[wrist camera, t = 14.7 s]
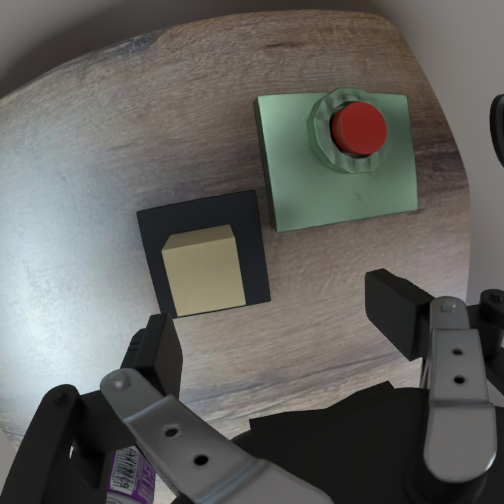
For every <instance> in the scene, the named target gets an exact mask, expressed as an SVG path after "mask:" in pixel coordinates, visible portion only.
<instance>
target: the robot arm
mask: <svg viewBox="0 0 504 504" xmlns="http://www.w3.org/2000/svg"><path fill="white" fill-rule="evenodd" d="M502 127H503V135H504V111H503V117H502ZM365 310H366V314H367V317H368V319H369V320H370V321H371V322H372V323H373V324H374V325H375V326H376V327H377V328H378V329H379V330H380V331H381V332H382V333H383V334H384V335H385V336H386V337H387V338H388V340H389V341H390V342H391V343H392V344H393V345H394V346H395V347H396V348H397V349H398V350H399V351H400V352H401V353H402V354H403V355H404V356H405V357H406V358H407V359H408V360H409V361H413V360H415V359H417V358H420V357H422V358H423V360H422V365H421V374H420V383H419V388H414V387H405V388H396V389H394V387H393V386H392V385H391V383H390V382H389V381H385V382H383V383H380V384H377V385H374V386H372V387H369V388H366V389H363V390H360V391H357V392H356V393H354V394H352V395H350V396H348V397H347V398H345V399H343V400H341V401H339V402H338V403H336V404H334V405H332V406H330V407H328V408H325V409H318V410H306V411H290V412H282V413H278V414H273V415H269V416H264V417H259V418H254V419H249V423H250V428H251V430H249V431H246V432H244V433H242V434H240V435H238V436H236V437H234V438H233V439H231V440H228V439H227V438H226V437H224V436H223V435H222V434H220V433H219V432H218V431H216V430H215V429H214V428H212V427H211V426H210V425H209V424H207V423H206V422H205V421H204V420H202V419H201V418H200V417H199V416H197V415H196V414H195V413H194V412H192V411H191V410H190V409H189V408H188V407H186V406H185V405H184V404H183V403H182V402H180V401H179V391H180V382H181V373H182V364H183V355H182V349H181V345H180V342H179V339H178V336H177V333H176V330H175V326H174V323H173V320H172V317H171V315H170V313H169V312H168V313H162V314H156V315H151V316H150V318H149V321H148V324H147V326H146V328H144V329H140V330H139V331H138V332H137V333H136V334H135V335H134V336H133V337H132V340H131V342H130V345H129V347H128V350H127V352H126V354H125V357H124V359H123V362H122V364H121V367H120V369H118V370H115V371H113V372H111V373H109V374H108V375H106V376H105V377H104V378H103V379H102V381H101V383H100V390H97V391H94V392H90V393H87V394H83V395H80V394H79V392H78V390H77V389H76V387H75V386H73V385H70V384H63V385H59V386H56V387H54V388H52V389H51V390H49V391H48V392H47V393H46V394H45V395H44V397H43V399H42V401H41V403H40V405H39V407H38V409H37V411H36V413H35V415H34V417H33V419H32V421H31V423H30V425H29V427H28V429H27V432H26V434H25V436H24V438H23V440H22V443H21V445H20V447H19V449H18V452H17V454H16V457H15V459H14V461H13V464H12V466H11V469H10V471H9V474H8V476H7V479H6V482H5V485H4V487H3V490H2V493H1V496H0V504H106V499H107V492H108V485H109V478H110V471H111V465H112V459H113V453H114V451H117V450H121V449H124V448H128V447H131V446H135V447H136V449H137V450H138V451H139V453H140V454H141V455H142V456H143V458H144V459H145V460H146V461H147V463H148V464H149V465H150V466H151V467H152V469H153V470H154V471H155V472H156V473H157V475H158V476H159V477H160V478H161V479H162V480H163V482H164V483H165V484H166V485H167V486H168V487H169V489H170V490H171V491H172V492H173V493H174V494H175V495H176V498H175V499H174V501H173V502H172V503H171V504H504V408H503V407H498V406H494V405H493V403H490V402H489V398H488V388H487V380H486V378H487V379H488V380H489V381H490V382H491V383H492V384H493V385H494V386H495V387H496V388H497V389H498V390H499V391H500V392H501V394H502V395H503V396H504V348H503V347H501V344H502V340H503V337H504V291H502V290H498V289H489V290H485V291H483V292H482V293H481V296H480V302H479V304H478V305H471V306H466V304H465V303H464V302H463V301H462V300H461V299H459V298H456V297H451V296H442V297H438V298H435V297H433V296H432V295H430V294H428V293H427V292H425V291H424V290H422V289H420V288H419V287H418V286H416V285H414V284H413V283H411V282H410V281H408V280H407V279H403V278H400V277H397V276H395V275H393V274H392V273H390V272H389V271H387V270H385V269H384V268H382V269H378V270H374V271H370V272H367V273H366V275H365ZM71 446H72V447H73V451H72V455H71V458H70V450H71Z"/></svg>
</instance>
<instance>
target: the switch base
mask: <svg viewBox="0 0 504 504" xmlns="http://www.w3.org/2000/svg"><path fill="white" fill-rule="evenodd" d="M355 102H365V103H368V104H370V105H372V106H374V107H375V108H376V109H377V110H378V111H379V112H380V113H381V114H382V116H383V118H384V120H385V123H386V127H387V136H386V140H385V143H384V144H383V146H382V147H381V148H380V149H379V150H378V151H377V152H375V153H372V154H363V155H354V154H350V153H348V152H346V151H344V150H343V149H341V148H340V146H339V145H338V144H337V143H336V141H335V139H334V137H333V133H332V121H333V118H334V115H335V114H336V112H337V111H338V110H340V109H341V108H343V107H345V106H347V105H350V104H352V103H355ZM253 104H254V110H255V116H256V123H257V129H258V136H259V142H260V149H261V155H262V162H263V169H264V176H265V183H266V190H267V197H268V204H269V211H270V218H271V226H272V228H273V229H274V230H275V231H276V232H277V233H281V232H286V231H292V230H298V229H304V228H310V227H316V226H322V225H328V224H334V223H340V222H346V221H352V220H358V219H364V218H370V217H376V216H382V215H389V214H395V213H401V212H408V211H414V210H418V197H417V180H416V167H415V157H414V147H413V139H412V131H411V124H410V118H409V112H408V106H407V100H406V95H399V94H386V93H367V92H365V91H364V90H362V89H360V88H337V89H335V90H334V91H332V92H307V93H287V94H273V95H261V96H257V97H256V99H255V100H254V102H253Z"/></svg>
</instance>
